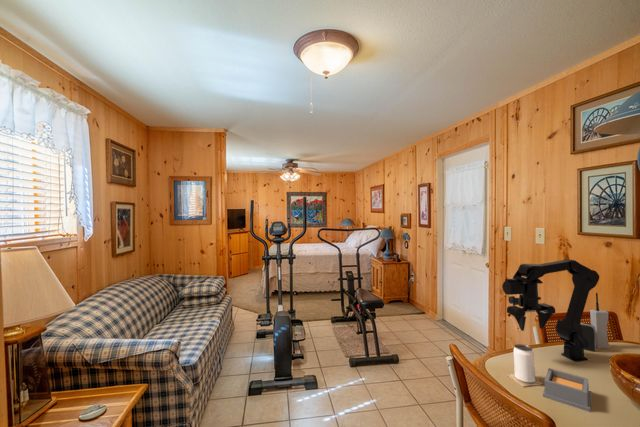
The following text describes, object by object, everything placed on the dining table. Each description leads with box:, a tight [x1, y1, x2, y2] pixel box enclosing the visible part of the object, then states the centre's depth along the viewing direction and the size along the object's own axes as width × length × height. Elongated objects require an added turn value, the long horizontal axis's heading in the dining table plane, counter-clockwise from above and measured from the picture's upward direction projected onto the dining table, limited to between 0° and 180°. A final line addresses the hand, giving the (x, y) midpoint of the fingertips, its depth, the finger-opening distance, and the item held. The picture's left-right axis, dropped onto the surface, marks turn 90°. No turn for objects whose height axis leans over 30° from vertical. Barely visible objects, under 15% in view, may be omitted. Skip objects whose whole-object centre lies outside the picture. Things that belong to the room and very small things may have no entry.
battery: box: [580, 322, 597, 352], centre depth 132 cm, size 7×4×11 cm, turn 38°
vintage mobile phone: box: [589, 292, 611, 349], centre depth 133 cm, size 4×5×25 cm
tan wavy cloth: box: [506, 372, 544, 388], centre depth 109 cm, size 8×8×1 cm
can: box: [513, 343, 536, 383], centre depth 110 cm, size 6×6×12 cm
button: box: [552, 376, 583, 390], centre depth 99 cm, size 8×8×2 cm
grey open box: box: [542, 367, 592, 412], centre depth 99 cm, size 12×12×6 cm
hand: (531, 329), depth 124 cm, fingers open, 9 cm apart
